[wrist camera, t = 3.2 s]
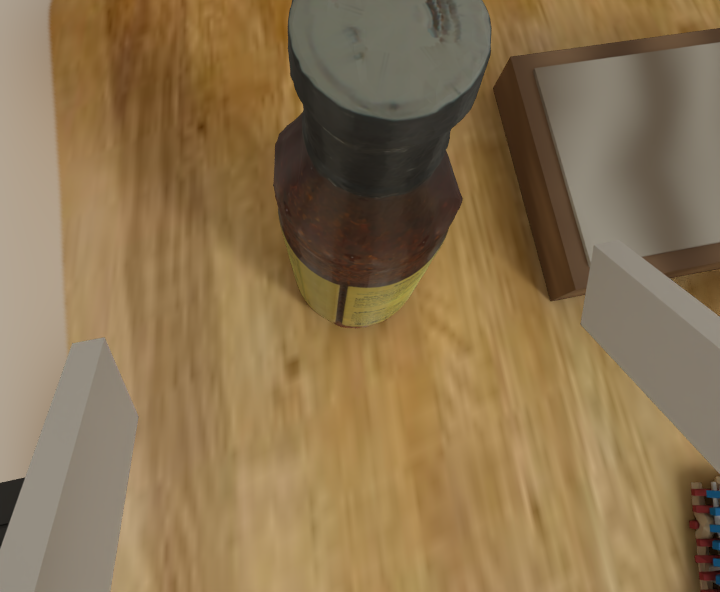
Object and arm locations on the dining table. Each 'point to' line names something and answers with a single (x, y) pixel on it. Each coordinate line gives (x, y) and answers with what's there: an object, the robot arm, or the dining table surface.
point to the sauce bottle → (373, 146)
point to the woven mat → (707, 533)
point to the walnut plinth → (618, 152)
